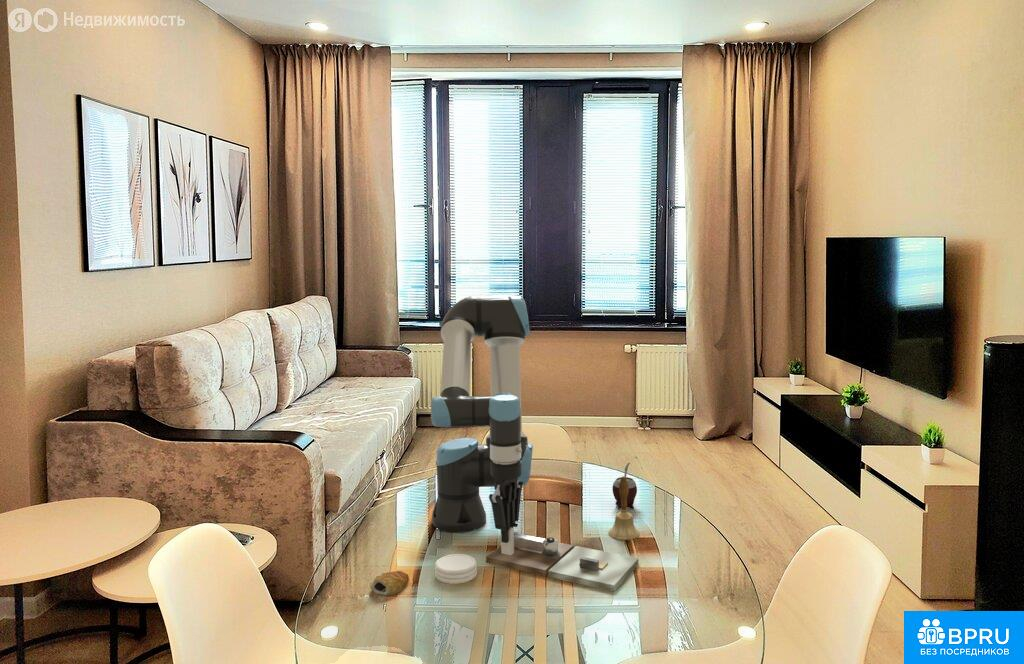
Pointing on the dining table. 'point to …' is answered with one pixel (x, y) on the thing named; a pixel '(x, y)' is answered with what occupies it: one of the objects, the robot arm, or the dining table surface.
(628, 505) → the mate gourd
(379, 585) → the pastry
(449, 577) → the coaster
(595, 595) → the dining table surface
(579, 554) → the door board
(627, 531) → the hand bell
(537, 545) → the swing bar
